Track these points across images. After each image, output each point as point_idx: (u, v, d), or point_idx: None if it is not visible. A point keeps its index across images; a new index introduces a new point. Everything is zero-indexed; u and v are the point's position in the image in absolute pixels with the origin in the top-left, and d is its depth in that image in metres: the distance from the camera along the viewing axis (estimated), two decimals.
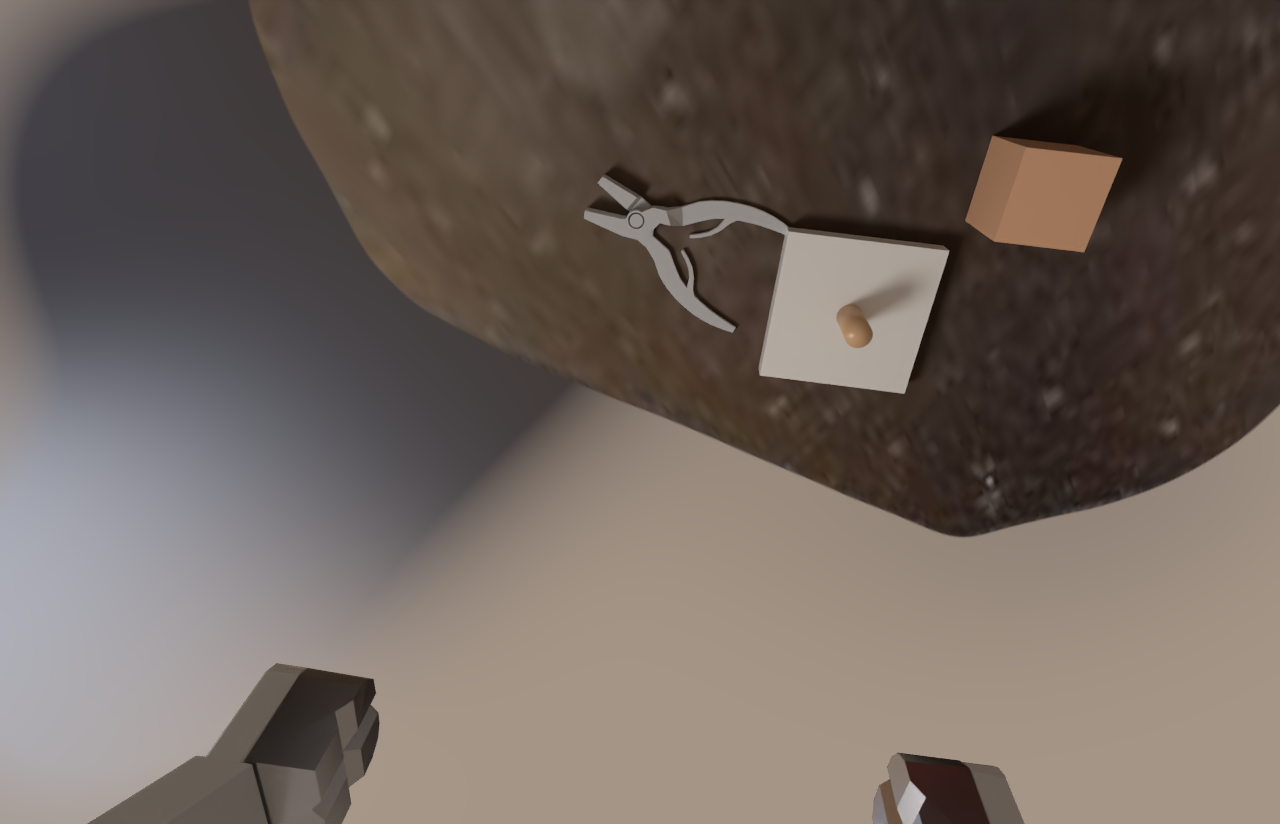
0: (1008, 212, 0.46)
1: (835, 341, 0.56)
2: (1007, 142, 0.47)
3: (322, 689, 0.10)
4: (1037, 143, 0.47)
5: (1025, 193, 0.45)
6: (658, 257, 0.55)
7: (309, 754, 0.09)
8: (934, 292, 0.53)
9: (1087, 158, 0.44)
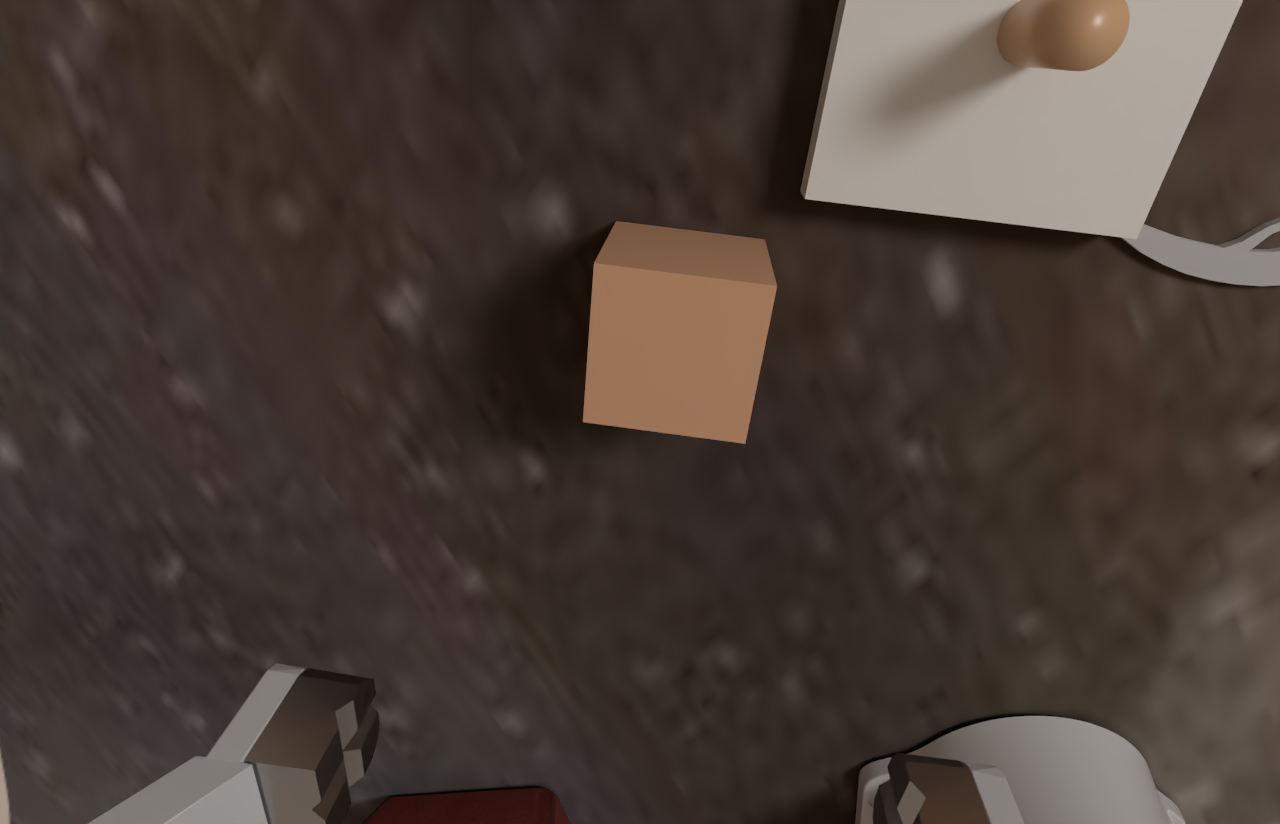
0: (757, 340, 0.23)
1: None
2: None
3: (322, 689, 0.10)
4: None
5: (732, 372, 0.24)
6: None
7: (309, 754, 0.09)
8: (828, 103, 0.24)
9: (639, 423, 0.25)
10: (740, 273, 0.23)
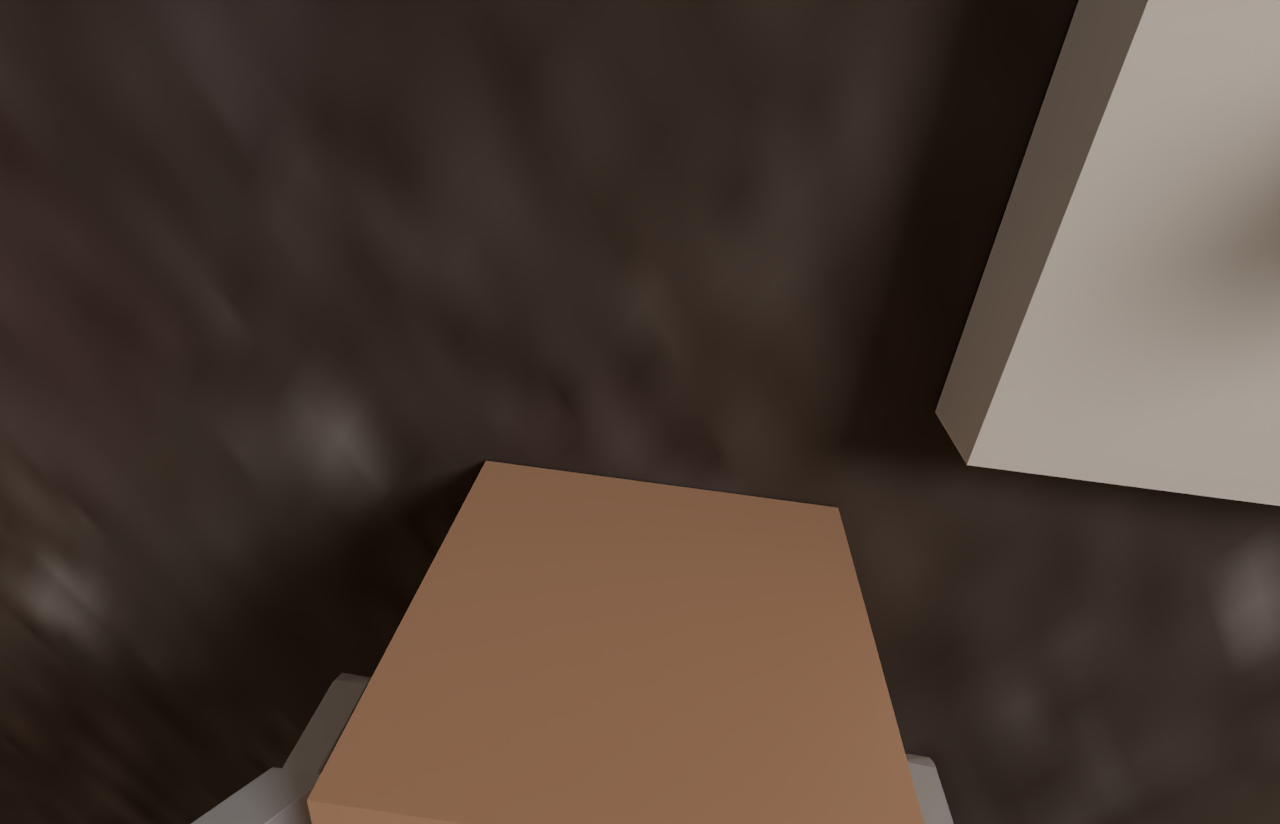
0: None
1: None
2: None
3: None
4: None
5: None
6: None
7: None
8: (1074, 223, 0.08)
9: None
10: (806, 784, 0.07)
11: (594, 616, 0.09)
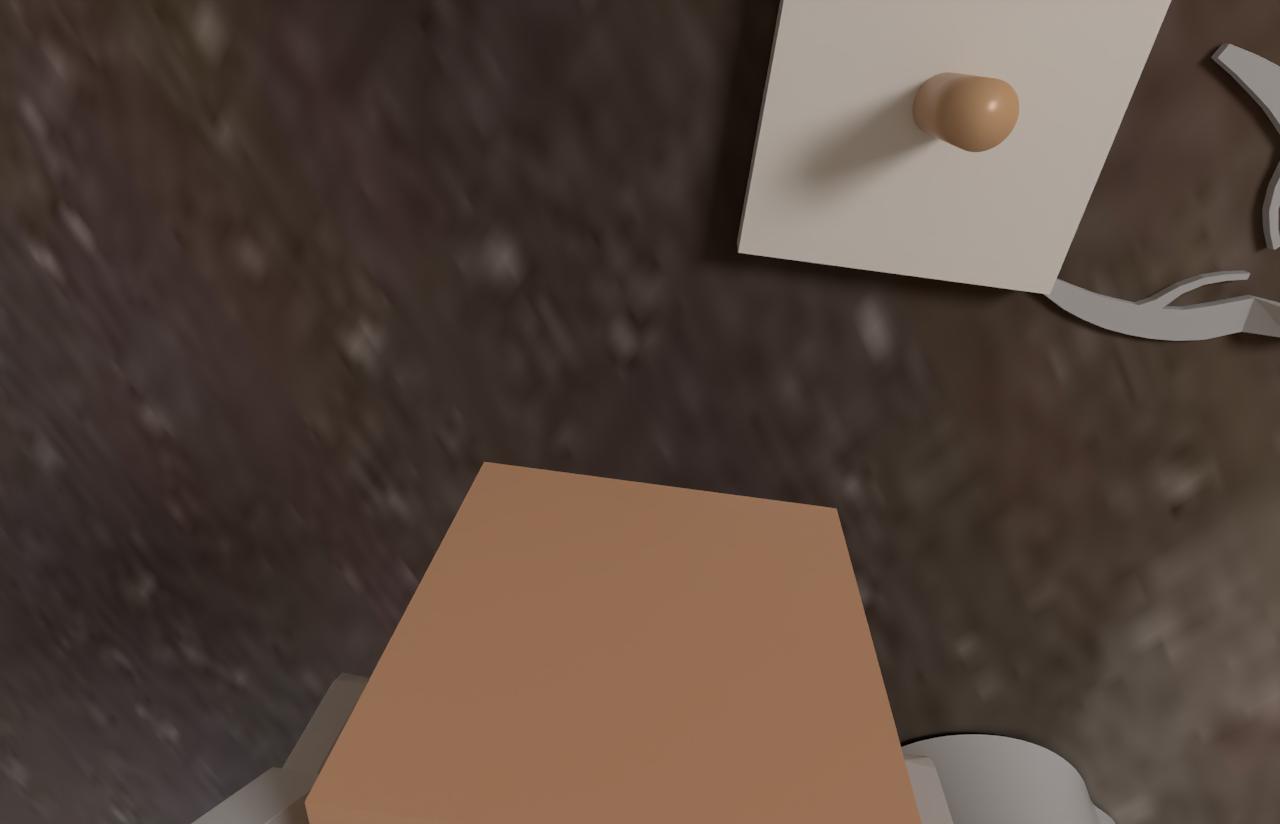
0: None
1: (981, 33, 0.23)
2: None
3: None
4: None
5: None
6: None
7: None
8: (757, 165, 0.25)
9: None
10: (804, 786, 0.07)
11: (592, 617, 0.09)
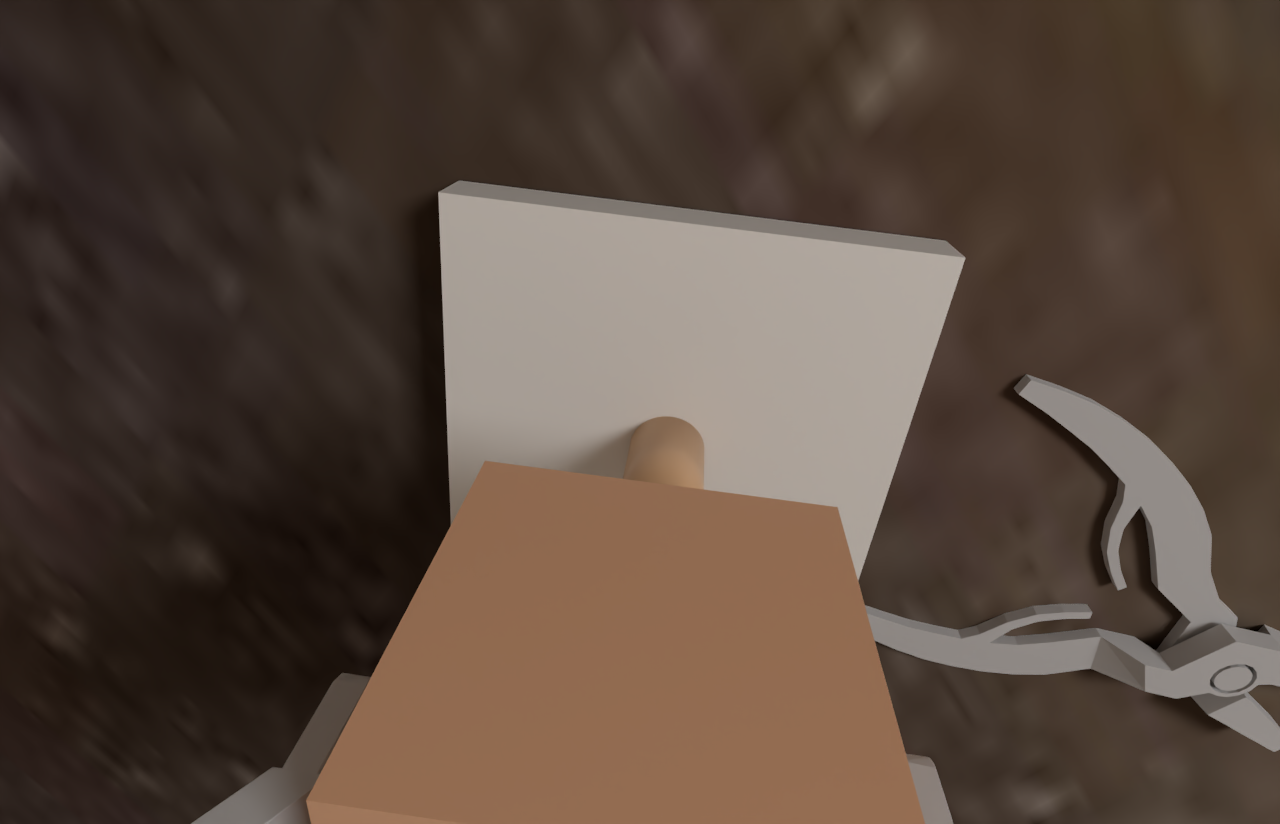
0: None
1: (700, 377, 0.17)
2: None
3: None
4: None
5: None
6: (1196, 577, 0.20)
7: None
8: (454, 502, 0.20)
9: None
10: (806, 784, 0.07)
11: (594, 616, 0.09)
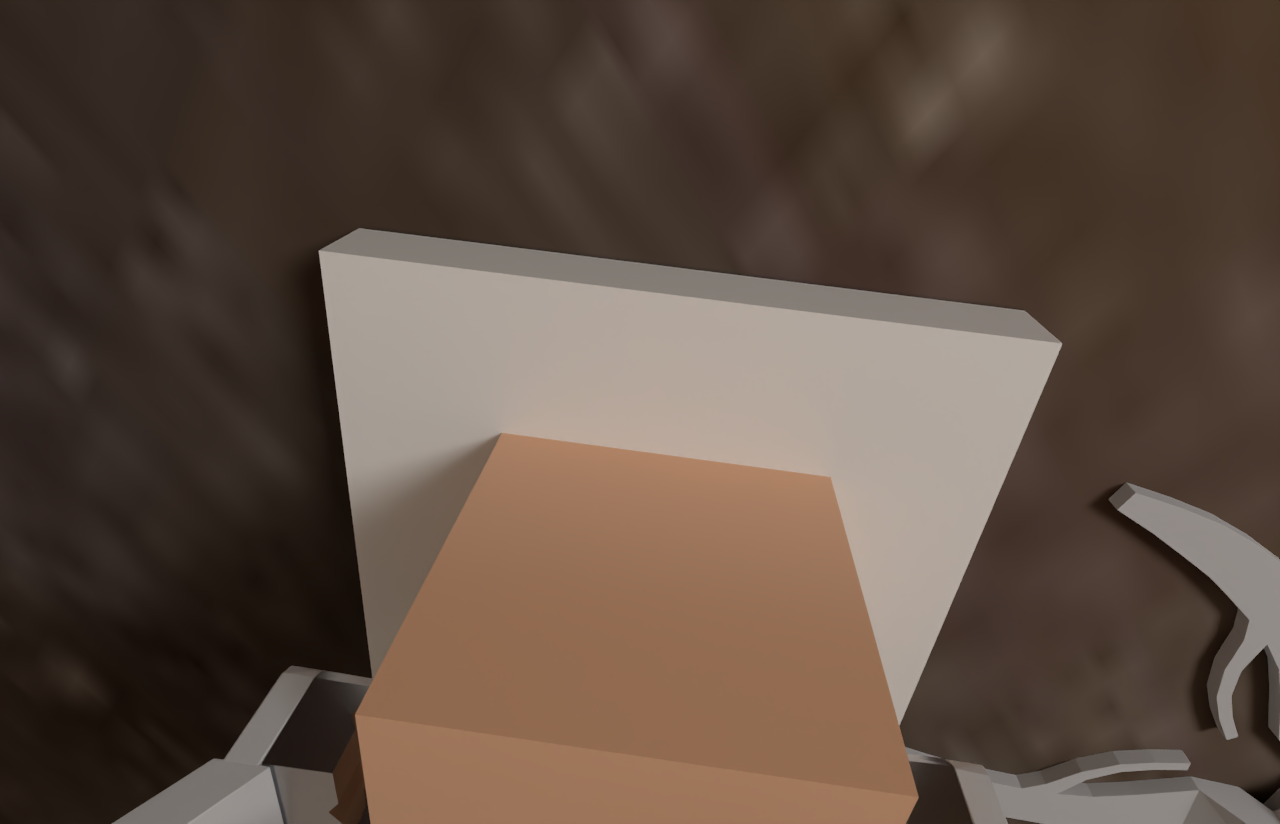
0: None
1: None
2: None
3: (338, 691, 0.10)
4: None
5: None
6: None
7: (326, 756, 0.09)
8: (373, 636, 0.15)
9: None
10: (798, 708, 0.08)
11: (606, 567, 0.10)
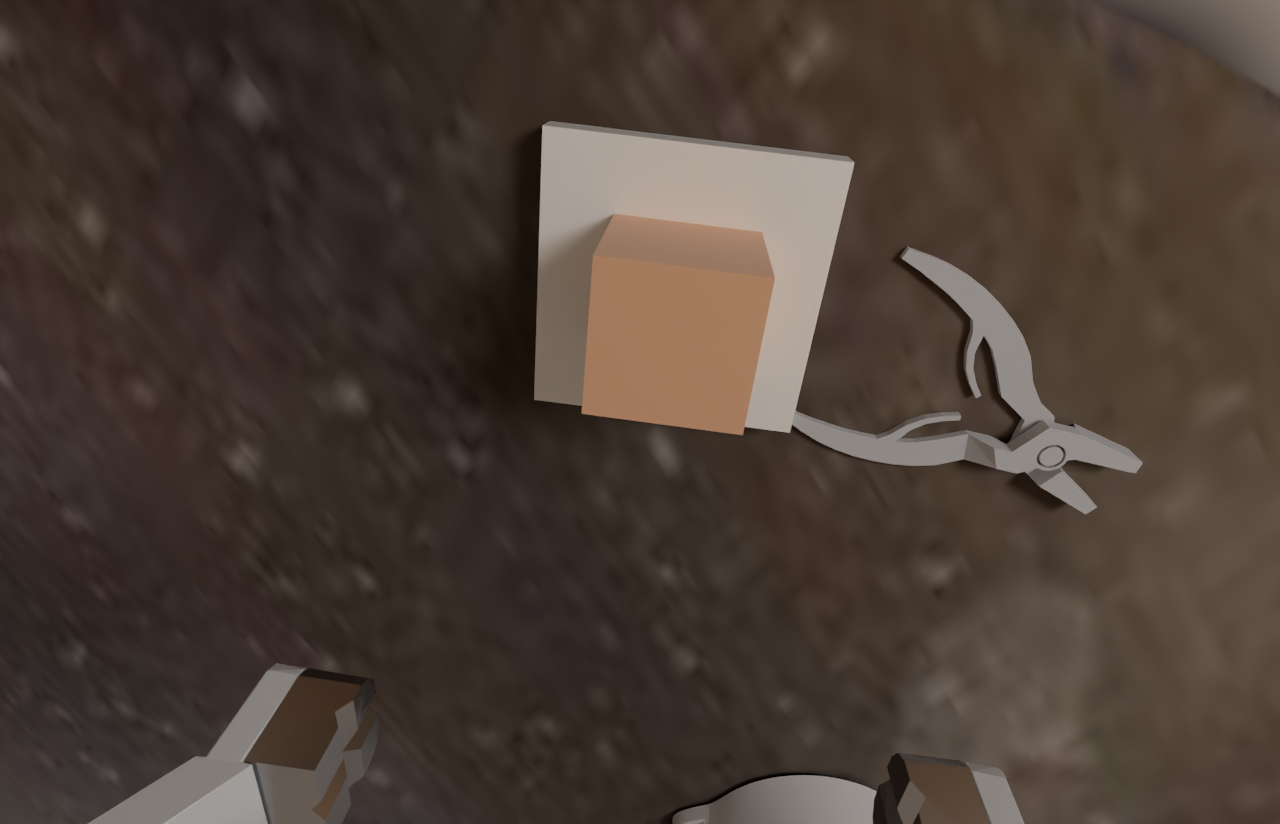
0: (755, 332, 0.24)
1: None
2: None
3: (322, 689, 0.10)
4: None
5: (729, 364, 0.24)
6: (1024, 387, 0.31)
7: (309, 754, 0.09)
8: (539, 335, 0.31)
9: (638, 414, 0.26)
10: (738, 265, 0.23)
11: (667, 241, 0.25)
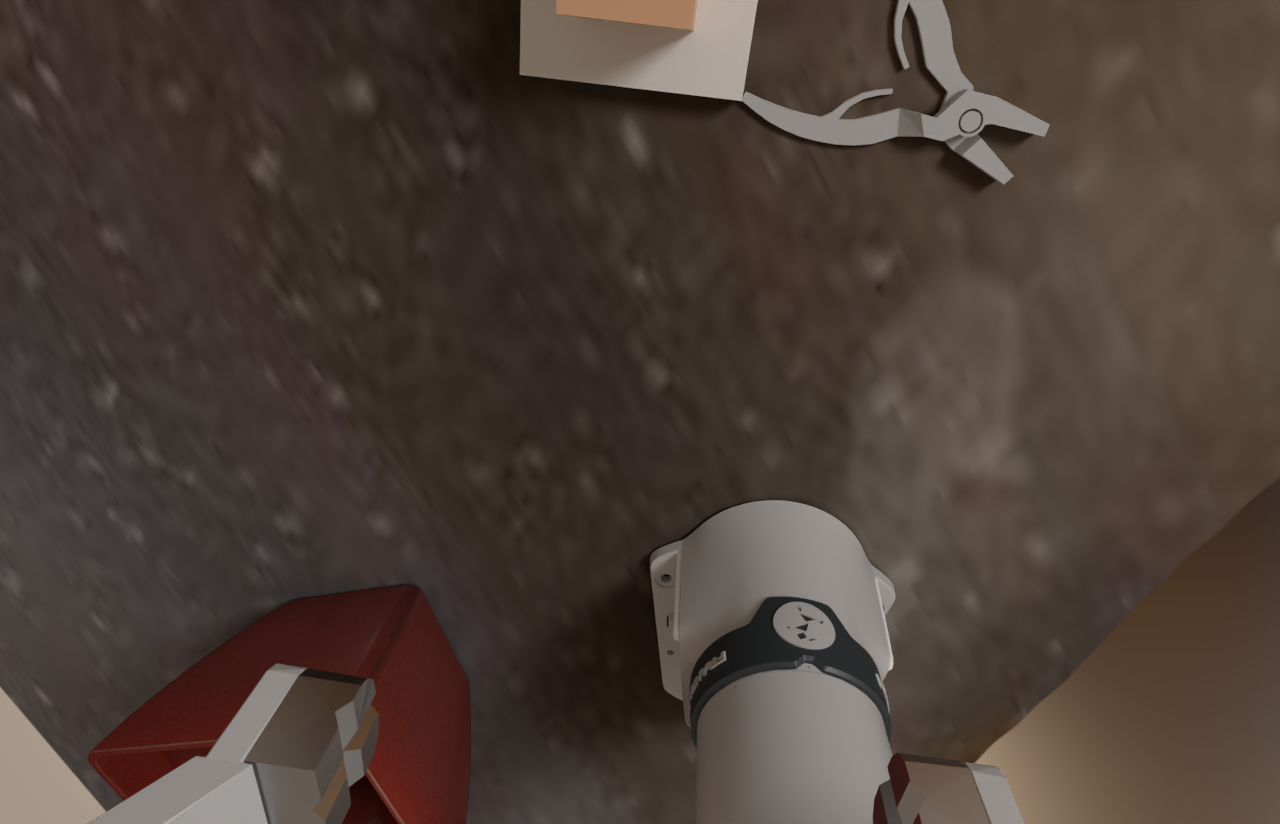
0: None
1: None
2: None
3: (322, 689, 0.10)
4: None
5: None
6: (946, 55, 0.36)
7: (309, 754, 0.09)
8: (523, 5, 0.36)
9: (603, 12, 0.30)
10: None
11: None
